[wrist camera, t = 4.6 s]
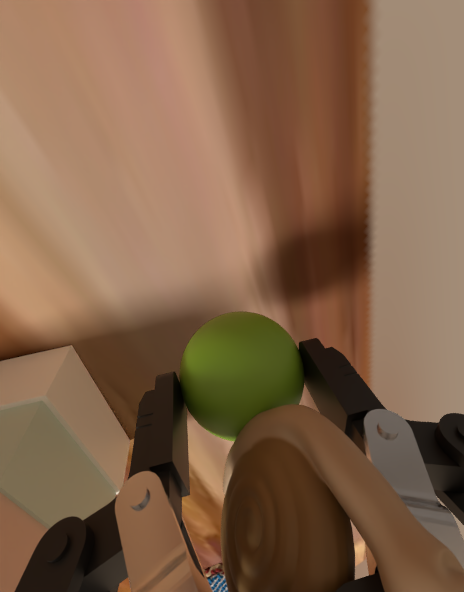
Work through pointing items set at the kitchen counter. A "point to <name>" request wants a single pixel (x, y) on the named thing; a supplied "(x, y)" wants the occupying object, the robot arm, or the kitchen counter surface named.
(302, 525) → the snail figurine
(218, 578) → the woven mat
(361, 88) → the kitchen counter surface
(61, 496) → the stacked pastel boxes
